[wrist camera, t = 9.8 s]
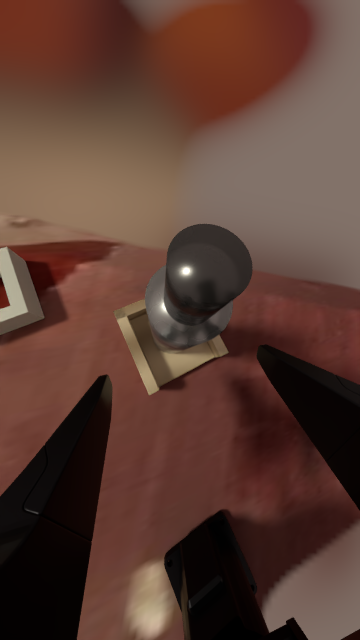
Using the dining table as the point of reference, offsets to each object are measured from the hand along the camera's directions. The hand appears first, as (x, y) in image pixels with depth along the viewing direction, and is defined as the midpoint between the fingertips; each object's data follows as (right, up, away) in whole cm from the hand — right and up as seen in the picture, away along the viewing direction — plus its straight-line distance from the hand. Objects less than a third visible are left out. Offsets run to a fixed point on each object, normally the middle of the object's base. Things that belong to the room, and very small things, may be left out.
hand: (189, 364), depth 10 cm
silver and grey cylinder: (-2, +1, +9) cm, 10 cm away
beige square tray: (-2, +1, +10) cm, 11 cm away
